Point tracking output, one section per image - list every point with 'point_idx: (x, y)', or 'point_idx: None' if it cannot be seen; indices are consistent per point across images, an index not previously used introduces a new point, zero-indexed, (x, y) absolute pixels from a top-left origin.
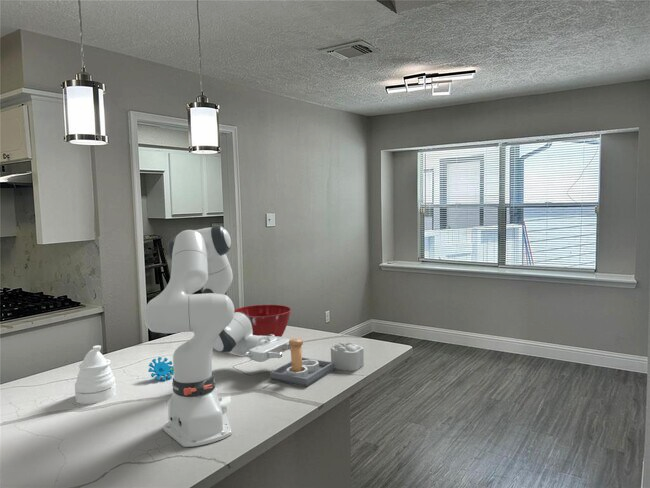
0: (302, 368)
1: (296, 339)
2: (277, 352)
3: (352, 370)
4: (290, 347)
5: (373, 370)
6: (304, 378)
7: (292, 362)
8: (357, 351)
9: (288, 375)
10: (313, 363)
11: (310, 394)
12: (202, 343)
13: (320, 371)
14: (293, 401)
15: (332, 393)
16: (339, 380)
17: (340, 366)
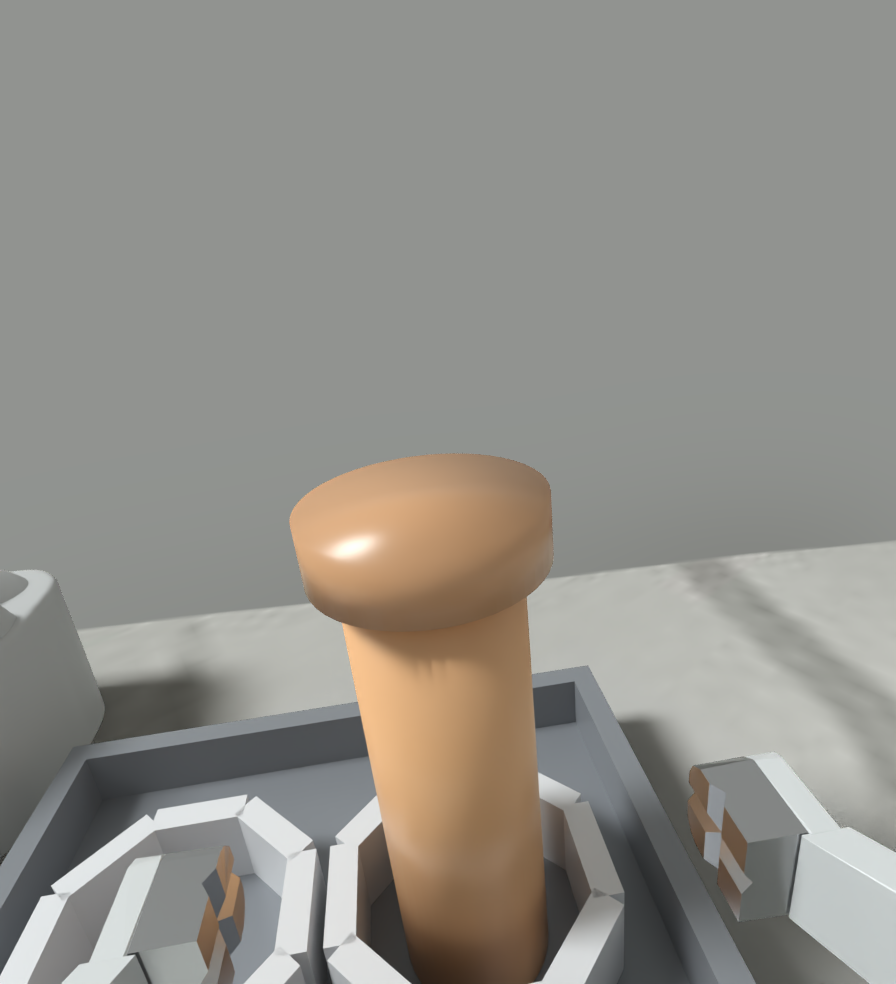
0: (361, 888)
1: (358, 517)
2: (780, 825)
3: (102, 700)
4: (205, 956)
5: (89, 629)
6: (594, 681)
7: (537, 795)
8: (14, 571)
9: (676, 840)
10: (69, 953)
11: (656, 644)
12: None
13: (350, 709)
14: (828, 644)
15: (542, 591)
16: (335, 660)
17: (62, 756)
